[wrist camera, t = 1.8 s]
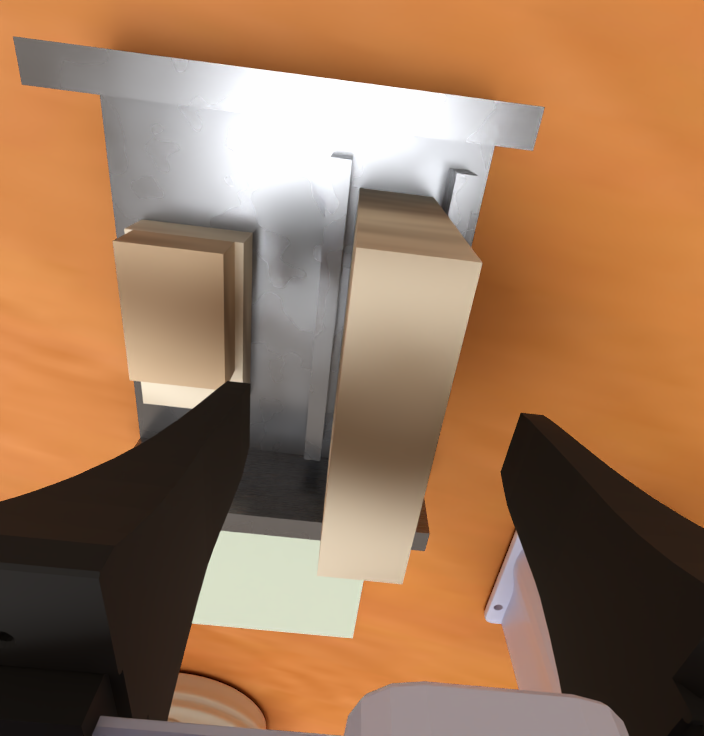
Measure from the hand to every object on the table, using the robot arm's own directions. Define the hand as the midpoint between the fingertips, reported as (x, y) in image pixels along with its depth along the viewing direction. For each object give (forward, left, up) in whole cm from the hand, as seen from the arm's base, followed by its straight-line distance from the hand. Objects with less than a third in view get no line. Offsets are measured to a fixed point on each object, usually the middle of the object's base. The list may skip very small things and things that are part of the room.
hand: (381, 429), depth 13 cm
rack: (0, +3, -8) cm, 9 cm away
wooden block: (0, 0, -7) cm, 7 cm away
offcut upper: (0, +7, -6) cm, 9 cm away
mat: (-16, +3, -8) cm, 18 cm away
